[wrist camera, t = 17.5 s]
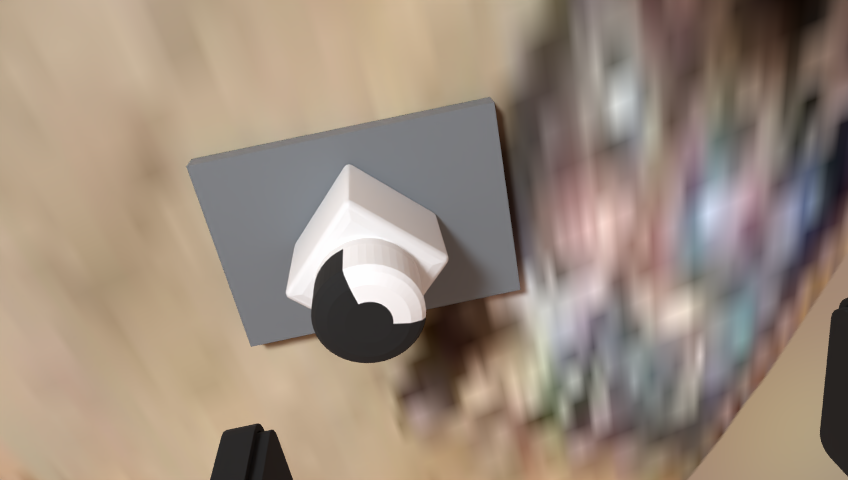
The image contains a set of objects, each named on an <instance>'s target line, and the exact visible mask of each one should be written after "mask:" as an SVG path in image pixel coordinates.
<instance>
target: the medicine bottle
mask: <svg viewBox="0 0 848 480" xmlns="http://www.w3.org/2000/svg"><path fill="white" fill-rule="evenodd" d="M447 262H448V255H447V251H446V248H445V245H444V241H443V238H442V235H441V231H440V228H439V225H438V221H437V218H436V215H435V214H434V213H433V212H431V211H429V210H428V209H426V208H424V207H423V206H421V205H419V204H418V203H416V202H414V201H412V200H411V199H409V198H407V197H406V196H404V195H402V194H400V193H399V192H397V191H395V190H394V189H392V188H390V187H389V186H387V185H385V184H383V183H382V182H380V181H378V180H377V179H375V178H373V177H371V176H370V175H368V174H366V173H365V172H363V171H361V170H360V169H358V168H356V167H354V166H353V165H350V164H348V165H346V166H345V167H344V168H343V169H342V171H341V173H340V174H339V176H338V177H337V179H336V181H335V182H334V184H333V185H332V187H331V188H330V190H329V192H328V193H327V195H326V196H325V198H324V199H323V201H322V203H321V204H320V206H319V207H318V209H317V210H316V212H315V214H314V215H313V217H312V218H311V220H310V222H309V223H308V225H307V226H306V228H305V229H304V231H303V233H302V234H301V236H300V237H299V239H298V240H297V242H296V244H295V247H294V252H293V257H292V262H291V267H290V273H289V278H288V283H287V288H286V295H287V297H288V298H289V299H291V300H293V301H295V302H297V303H299V304H301V305H304V306H306V307H308V308H310V309H311V321H312V326H313V329H314V332H315V334H316V336H317V337H318V339H319V340H320V342H321V343H322V344H323V345H324V346H325V347H326V348H327V349H328V350H329V351H331V352H332V353H334V354H335V355H337V356H339V357H341V358H343V359H346V360H349V361H353V362H359V363H376V362H381V361H385V360H388V359H391V358H393V357H396V356H398V355H399V354H401V353H403V352H404V351H406V350H407V349H408V348H409V347H410V346H411V345H412V344H413V343H414V342H415V341H416V340H417V338H418V337H419V335H420V333H421V332H422V329H423V327H424V324H425V319H426V306H425V300H424V294H425V293H426V291H427V290H428V289H429V287H430V286H431V284H432V283H433V282H434V280H435V279H436V278H437V276H438V275H439V273H440V272H441V271H442V269H443V268H444V267H445V265H446V264H447Z"/></svg>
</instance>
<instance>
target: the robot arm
mask: <svg viewBox="0 0 848 480" xmlns="http://www.w3.org/2000/svg"><path fill="white" fill-rule="evenodd" d="M820 437H821V442H822V445H823V447H824V449H825V451H826V452H827V454H828V455H829V456H830V458H831V459H832V460H833V461H834V462H835V463H836V464H837V465H838V466H839V467H840V469H841V470H843V472H844V473H845V474H846V475H847V476H848V298H846V299H844V300H842V302H841V303H840V306H839V309H837V310H835V311H834V312H833V313H832V317H831V325H830V335H829V346H828V356H827V367H826V377H825V387H824V396H823V408H822V417H821V427H820ZM210 480H293V478H292V475H291V473H290V470H289V467H288V464H287V462H286V459H285V456H284V453H283V451H282V448H281V445H280V443H279V440H278V437H277V435H276V432H275V431H274V430H268V431H264V429H263V427H262V426H261V424H253V425H248V426H244V427H239V428H234V429H230V430H226V431H224V432H223V434H222V437H221V440H220V444H219V448H218V452H217V456H216V459H215V463H214V467H213V471H212V475H211V478H210Z"/></svg>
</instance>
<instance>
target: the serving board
mask: <svg viewBox="0 0 848 480" xmlns="http://www.w3.org/2000/svg"><path fill="white" fill-rule="evenodd" d="M348 164H350V165H353V166H354V167H356V168H358V169H360V170H361V171H363V172H365V173H366V174H368V175H370V176H371V177H373V178H375V179H377V180H378V181H380V182H382V183H383V184H385V185H387V186H389V187H390V188H392V189H394V190H395V191H397V192H399V193H400V194H402V195H404V196H406V197H407V198H409V199H411V200H412V201H414V202H416V203H418V204H419V205H421V206H423V207H424V208H426V209H428V210H429V211H431V212H433V213H434V214H435V215H436V218H437V221H438V225H439V228H440V231H441V235H442V238H443V241H444V245H445V248H446V251H447V255H448V262H447V264H446V265H445V267H444V268H443V269H442V271H441V272H440V273H439V275H438V276H437V278H436V279H435V280H434V282H433V283H432V284H431V286H430V287H429V289H428V290H427V291H426V293H425V294H424V300H425V306H426V310H427V309H431V308H436V307H441V306H446V305H450V304H455V303H460V302H464V301H469V300H474V299H479V298H483V297H488V296H493V295H498V294H502V293H507V292H512V291H516V290H520V284H519V276H518V269H517V262H516V255H515V248H514V240H513V233H512V226H511V219H510V212H509V205H508V197H507V190H506V183H505V176H504V169H503V161H502V154H501V147H500V140H499V133H498V126H497V118H496V111H495V104H494V101H493V100H492V99H491V98H490V97H488V98H483V99H479V100H474V101H469V102H464V103H459V104H455V105H450V106H445V107H440V108H435V109H431V110H426V111H421V112H416V113H411V114H407V115H402V116H397V117H392V118H387V119H383V120H378V121H373V122H368V123H363V124H358V125H354V126H349V127H344V128H339V129H334V130H330V131H325V132H320V133H315V134H310V135H306V136H301V137H296V138H291V139H286V140H282V141H277V142H272V143H267V144H262V145H258V146H253V147H248V148H243V149H238V150H233V151H229V152H224V153H219V154H214V155H209V156H205V157H200V158H195V159H191V161H190V162H189V164H188V165H187V166H186V167H187V169H188V172H189V175H190V178H191V181H192V183H193V186H194V189H195V192H196V194H197V197H198V200H199V203H200V206H201V208H202V211H203V214H204V217H205V220H206V222H207V225H208V228H209V231H210V233H211V236H212V239H213V242H214V245H215V247H216V250H217V253H218V256H219V259H220V261H221V264H222V267H223V270H224V273H225V275H226V278H227V281H228V284H229V286H230V289H231V292H232V295H233V298H234V300H235V303H236V306H237V309H238V312H239V314H240V317H241V320H242V323H243V325H244V328H245V331H246V334H247V337H248V339H249V342H250V345H251V347H252V346H257V345H261V344H266V343H271V342H276V341H280V340H285V339H290V338H294V337H299V336H304V335H309V334H313V333H315V332H314V329H313V326H312V321H311V309H310V308H308V307H306V306H304V305H301V304H299V303H297V302H295V301H293V300H291V299H289V298H288V297H287V295H286V288H287V283H288V278H289V273H290V267H291V262H292V257H293V252H294V247H295V244H296V242H297V240H298V239H299V237H300V236H301V234H302V233H303V231H304V229H305V228H306V226H307V225H308V223H309V222H310V220H311V218H312V217H313V215H314V214H315V212H316V210H317V209H318V207H319V206H320V204H321V203H322V201H323V199H324V198H325V196H326V195H327V193H328V192H329V190H330V188H331V187H332V185H333V184H334V182H335V181H336V179H337V177H338V176H339V174H340V173H341V171H342V169H343V168H344V167H345V166H346V165H348Z"/></svg>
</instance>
